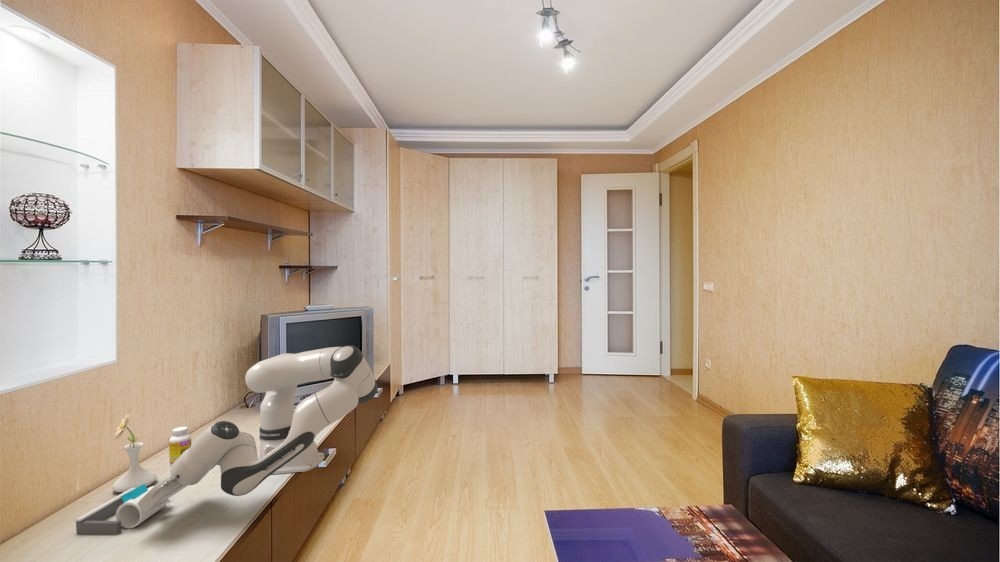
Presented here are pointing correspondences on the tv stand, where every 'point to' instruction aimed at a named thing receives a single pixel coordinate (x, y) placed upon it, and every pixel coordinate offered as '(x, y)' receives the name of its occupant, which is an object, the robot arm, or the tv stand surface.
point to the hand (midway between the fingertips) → (158, 502)
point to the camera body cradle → (101, 518)
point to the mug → (134, 508)
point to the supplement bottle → (178, 443)
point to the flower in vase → (132, 463)
